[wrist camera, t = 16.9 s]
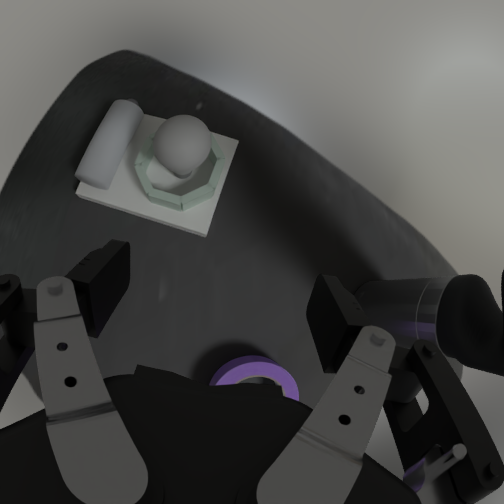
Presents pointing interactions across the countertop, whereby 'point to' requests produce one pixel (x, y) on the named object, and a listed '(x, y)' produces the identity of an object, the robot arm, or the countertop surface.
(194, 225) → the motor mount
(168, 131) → the lightbulb
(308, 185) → the countertop surface
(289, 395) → the masking tape
